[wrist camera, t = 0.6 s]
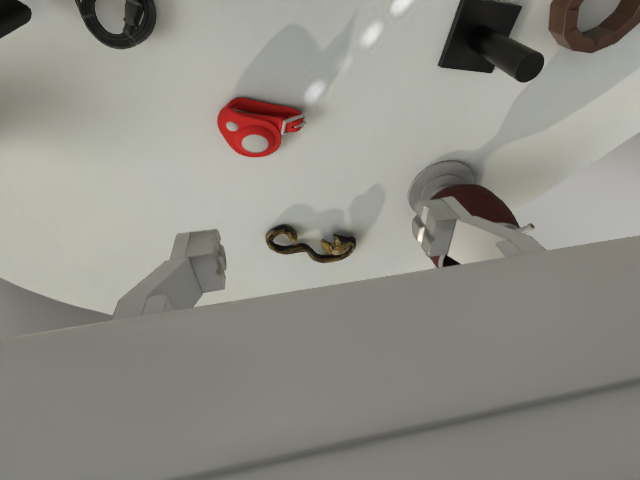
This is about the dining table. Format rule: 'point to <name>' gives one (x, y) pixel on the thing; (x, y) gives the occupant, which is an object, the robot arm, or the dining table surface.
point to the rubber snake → (336, 249)
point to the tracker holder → (257, 126)
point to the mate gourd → (460, 197)
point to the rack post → (489, 41)
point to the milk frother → (90, 21)
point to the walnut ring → (632, 10)
